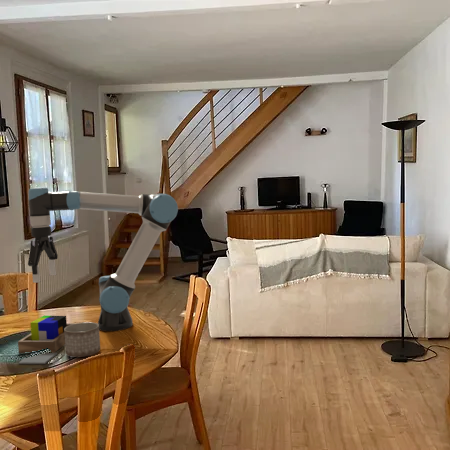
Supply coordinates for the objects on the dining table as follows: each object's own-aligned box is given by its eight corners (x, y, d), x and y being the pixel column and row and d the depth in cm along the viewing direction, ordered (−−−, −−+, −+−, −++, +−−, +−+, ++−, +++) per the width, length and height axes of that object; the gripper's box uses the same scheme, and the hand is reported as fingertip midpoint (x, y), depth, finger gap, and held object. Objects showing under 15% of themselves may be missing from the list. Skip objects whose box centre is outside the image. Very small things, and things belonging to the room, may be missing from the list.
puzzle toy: (55, 347, 199) (53, 323, 198) (32, 346, 201) (30, 322, 200) (67, 339, 209) (66, 315, 208) (45, 338, 211) (44, 315, 210)
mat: (57, 354, 191) (57, 352, 191) (44, 364, 181) (44, 362, 181) (32, 354, 192) (32, 352, 192) (18, 364, 182) (18, 362, 182)
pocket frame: (46, 333, 217) (46, 323, 217) (78, 333, 215) (78, 323, 215) (18, 352, 194) (17, 341, 194) (54, 353, 192) (53, 341, 192)
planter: (68, 362, 182) (66, 334, 181) (64, 351, 194) (62, 325, 193) (103, 355, 187) (101, 328, 186) (97, 345, 199) (95, 320, 198)
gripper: (46, 223, 213) (50, 272, 215) (15, 230, 188) (20, 285, 190) (63, 222, 212) (67, 272, 214) (34, 229, 187) (38, 285, 189)
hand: (45, 278), depth 202 cm, fingers open, 13 cm apart
